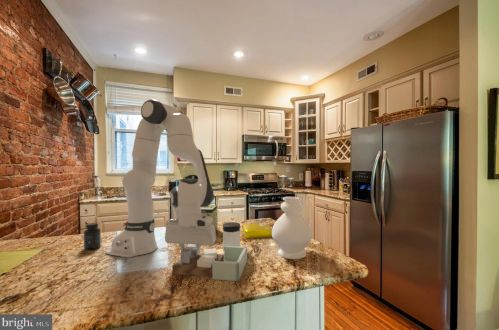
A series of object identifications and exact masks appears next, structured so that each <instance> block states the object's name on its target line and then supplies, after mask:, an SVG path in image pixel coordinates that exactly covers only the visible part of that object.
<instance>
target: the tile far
mask: <svg viewBox="0 0 499 330" xmlns="http://www.w3.org/2000/svg"><path fill="white" fill-rule="evenodd" d="M203 250H204V251H203V253H204V255H205V256H215V258H217V254H218V251H217V250H218V249H217V248H215V247H214V248H205V249H203Z"/></svg>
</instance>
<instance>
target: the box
mask: <svg viewBox="0 0 499 330" xmlns="http://www.w3.org/2000/svg"><path fill="white" fill-rule="evenodd" d="M223 254H224V261H223V262H222V261H213V262H212V273H213V277H212V280H217V281H218V280H219V281H229V282H231V281H233V282H235V281H236V282H240V280H241V277H242V275H243V273H244V269H245V268H246V265H247V263H248V247H247V246H240V247H236V246H224V251H223Z"/></svg>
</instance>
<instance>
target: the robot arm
mask: <svg viewBox="0 0 499 330" xmlns="http://www.w3.org/2000/svg"><path fill="white" fill-rule="evenodd" d="M140 115H141V117H142V118H141V119H140V121H139V123H138V126H137V128H136V131H135V135H134V136H135V137H134V141H133V148H132V151H131V157H132V169H130V170H129V171H127V172H126V173H125V174H124V176H122V180H121V181H122V184H121V185H122V186H123V188H124V194H125V199H126V204H127V221H126V222H124V223H123V224H122V227H124V226H125V227H124V229H123V230H122V231H121V232H119V233H118V234H117V235H116V236H115V237H113V239H112V242H111V247H109V248H107V249H106V250H105V255H112V256H117V257H123V258H134V257H136V256H141V255H146V254H150V253H152V252H154V251H156V250H158V244H157V240H156V235H155V223H156V222H155V218H154V201H153V197H152V189H151V188H152V187H153V186H154V184H155V182H156V175H157V165H158V162H157V161H158V153H159V149H160V144H161V143H160V142H161V138H162V137H161V136H162V134H163V132H164V131H166V137H167V139H166V141H167V148H168V151H169V152H170V154H172V155H173V156H174V157H176V158H178V159H180V160H184V161H186V162H188V163H190V164H192V165H193V167H194V169H195V172H196V176H197V178H193V177H185V178H181V179H180V180H179V181H178V185H177V186H174V187H173V188H172V189H171V190H170V192H169V195H170V200H169V201H170V205H171V206H172V207H174V208H176V209H178V214H177V216H178V218H177V219H175V218H174V219H173V218H169V219H168V220H166V221H165V232H164V241H165V243H166V244H178V246H179V248H180V251H182V250H183V249H184V248H185V247H186V246H185V245H189V244H196V247H198V248H197V249H196V250H194V255H199V249H201V247H202V246H213V245H214V244H215V243H216V240H217V234H216V232H217V231H216V232H215V227H214V225H213V224H212V222H213V218H212V217H209V216H206V215H204V214H201V208H200V207H207V206H209V205H212V203H213V201H214V199H215V193H214V189H213V187H212V183H211V181H210V177H209V173H208V170H207V166H206V162H205V157H204V155H203V153H202V151H201V149H199V148H198V147H197V145H196V143H195V142H194V133H193V128H192V125H191V124H192V123H191V121H190V118H189V117H188V115H186V114H184V113H183V111H181V110H180V109H177V108H176V107H174V106H172V105H171V104H167V103H164V102H161V101H160V100H157V99H147V100H146V101H145V102H143V104H142V105H141V108H140Z"/></svg>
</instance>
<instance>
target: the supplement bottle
mask: <svg viewBox="0 0 499 330" xmlns="http://www.w3.org/2000/svg"><path fill="white" fill-rule="evenodd" d="M85 228H86V229H85V230H84V232H83V250H84V251H86V250H90V251H95V250H98V249H100V248H101V247H102V243H101V241H102V240H101V239H102V237H101V236H102V235H101V229H100V228H99V223H98V222H91V223H86V224H85Z"/></svg>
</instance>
